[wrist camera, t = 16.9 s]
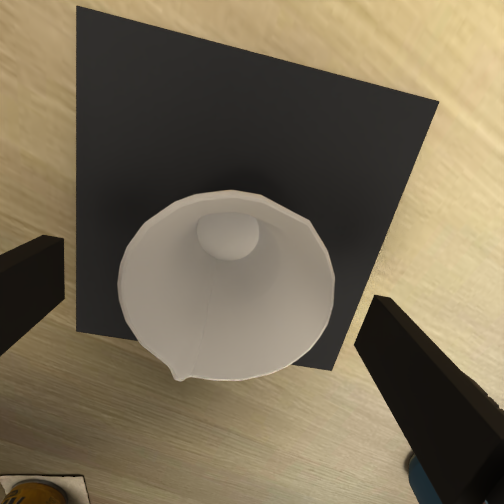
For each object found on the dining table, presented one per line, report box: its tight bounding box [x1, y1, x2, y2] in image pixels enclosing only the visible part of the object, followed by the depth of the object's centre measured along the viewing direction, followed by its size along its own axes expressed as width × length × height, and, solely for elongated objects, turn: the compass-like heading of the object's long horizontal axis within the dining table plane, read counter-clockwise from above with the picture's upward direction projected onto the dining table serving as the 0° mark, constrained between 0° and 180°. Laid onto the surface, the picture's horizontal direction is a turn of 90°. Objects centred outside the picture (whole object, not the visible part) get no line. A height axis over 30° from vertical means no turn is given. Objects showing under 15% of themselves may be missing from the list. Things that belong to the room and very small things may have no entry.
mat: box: [76, 6, 439, 371], centre depth 21 cm, size 22×22×1 cm
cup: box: [117, 190, 335, 381], centre depth 16 cm, size 9×9×10 cm
